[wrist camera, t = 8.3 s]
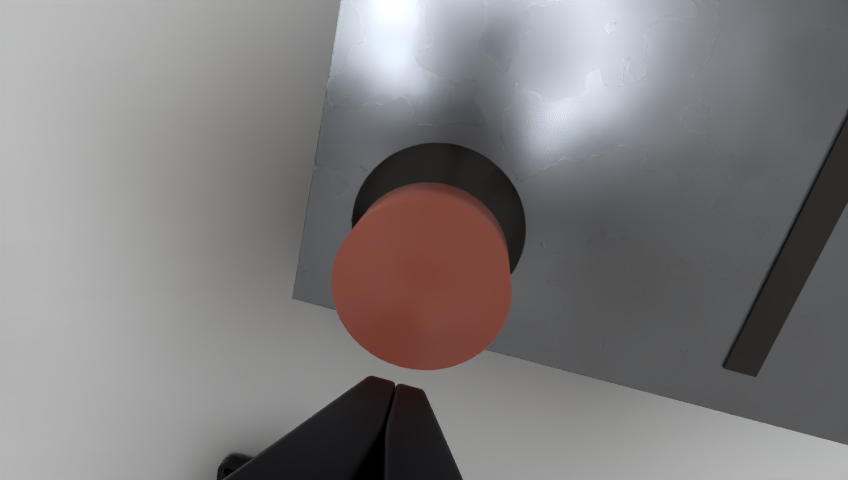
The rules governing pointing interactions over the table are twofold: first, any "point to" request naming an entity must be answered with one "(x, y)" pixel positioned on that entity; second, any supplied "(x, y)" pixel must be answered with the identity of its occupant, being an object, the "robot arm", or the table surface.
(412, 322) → the button
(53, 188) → the table surface
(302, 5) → the table surface
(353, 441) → the robot arm
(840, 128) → the panel
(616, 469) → the table surface
